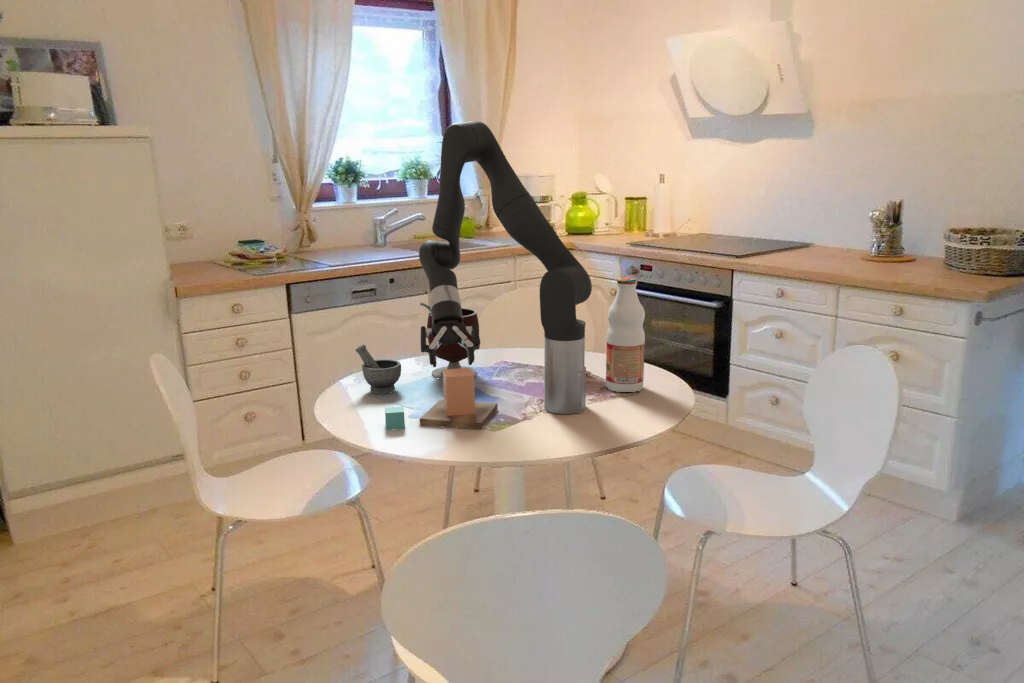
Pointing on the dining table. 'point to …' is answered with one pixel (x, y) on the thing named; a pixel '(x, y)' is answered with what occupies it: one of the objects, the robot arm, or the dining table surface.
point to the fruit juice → (625, 339)
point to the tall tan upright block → (459, 391)
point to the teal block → (394, 418)
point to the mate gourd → (452, 351)
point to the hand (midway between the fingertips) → (452, 364)
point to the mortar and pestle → (379, 372)
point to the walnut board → (459, 416)
